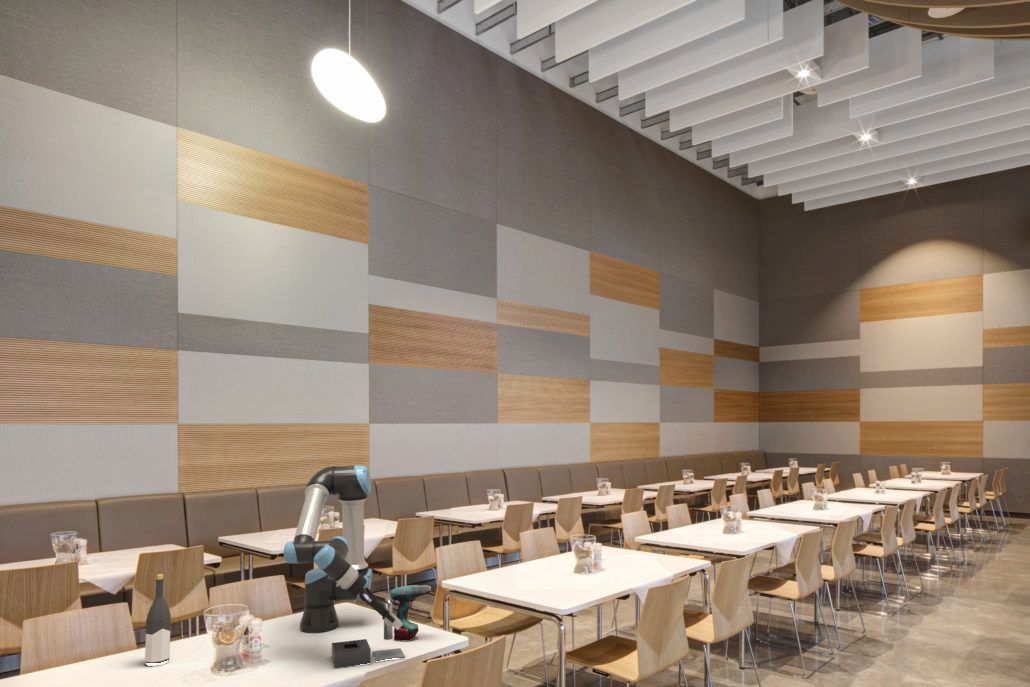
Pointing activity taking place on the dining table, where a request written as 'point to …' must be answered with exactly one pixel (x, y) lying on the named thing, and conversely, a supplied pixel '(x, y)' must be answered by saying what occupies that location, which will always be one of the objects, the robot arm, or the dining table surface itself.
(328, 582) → the robot arm
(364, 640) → the chuck block
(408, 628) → the power drill
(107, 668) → the dining table surface
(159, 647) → the wine bottle
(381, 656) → the mat
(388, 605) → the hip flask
